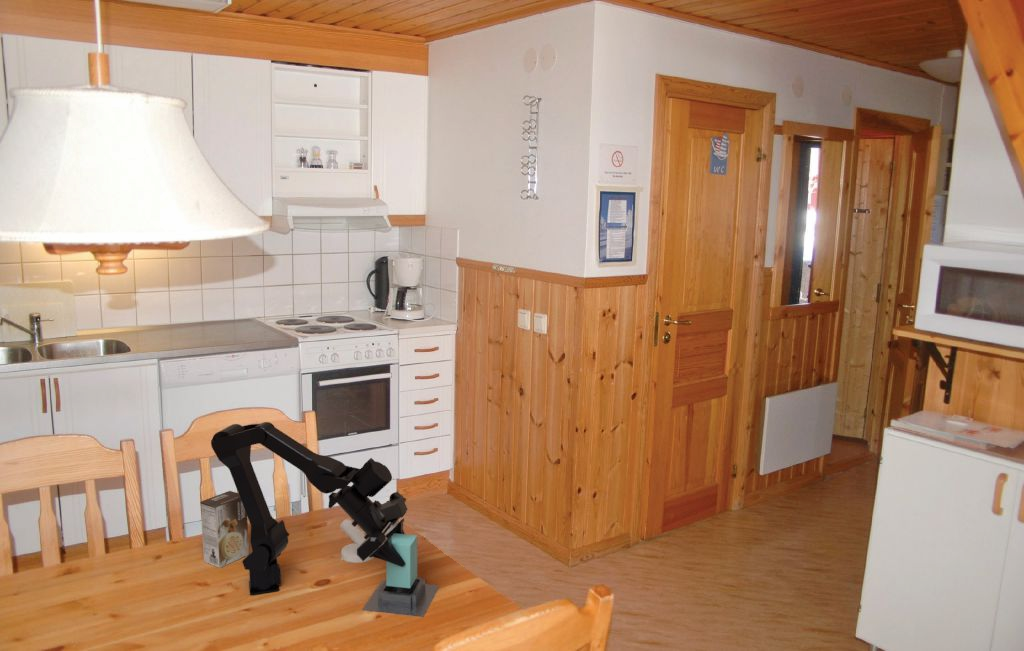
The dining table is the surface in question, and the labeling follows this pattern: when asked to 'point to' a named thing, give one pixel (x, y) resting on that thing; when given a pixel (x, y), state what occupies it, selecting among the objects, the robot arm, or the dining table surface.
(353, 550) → the wall hook
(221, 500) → the coffee box
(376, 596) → the socket holder
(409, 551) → the teal block
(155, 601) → the dining table surface
